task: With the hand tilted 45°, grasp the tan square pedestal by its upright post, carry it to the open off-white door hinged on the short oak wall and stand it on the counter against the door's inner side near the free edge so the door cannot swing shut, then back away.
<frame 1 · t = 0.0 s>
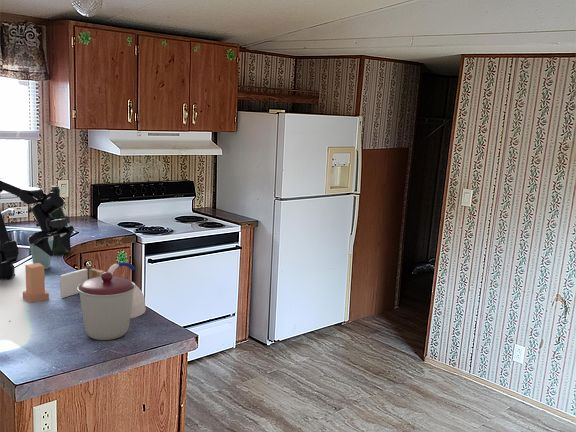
hand: (61, 253, 227), 15 cm above the countertop, fingers open, 9 cm apart
tan square pedestal: (35, 298, 218), on the countertop
canister: (107, 334, 189), on the countertop
beer bottle: (56, 253, 283), on the countertop
door frame: (88, 289, 231), on the countertop
door: (73, 282, 224), point 5 cm above the countertop, hinge at 90.0°
kettle: (117, 311, 210), on the countertop
disposable coffee cup: (41, 268, 257), on the countertop
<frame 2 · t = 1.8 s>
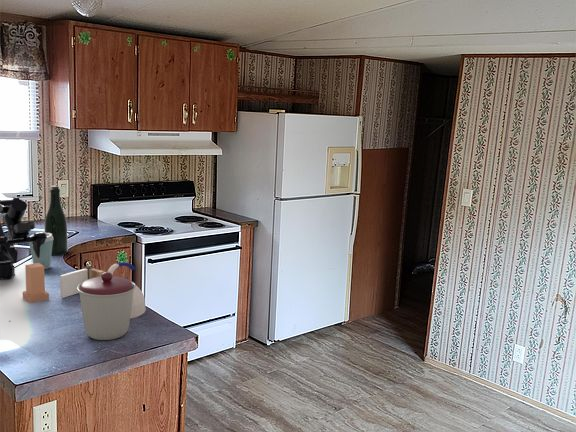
hand: (26, 259, 221), 13 cm above the countertop, fingers open, 9 cm apart
nothing on the countertop moved.
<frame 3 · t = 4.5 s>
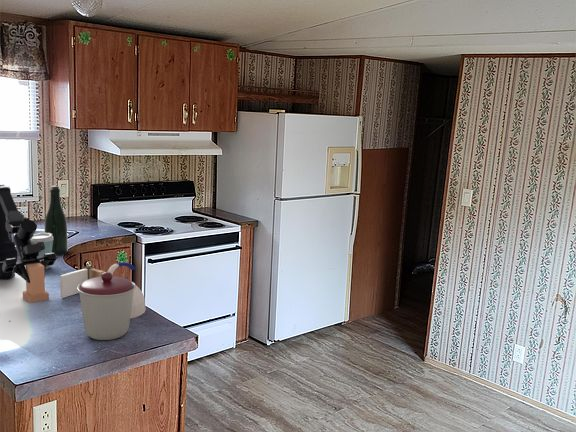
hand: (36, 281, 216), 7 cm above the countertop, fingers closed on tan square pedestal, 5 cm apart
tan square pedestal: (35, 298, 218), on the countertop, touching gripper
everything else where it was.
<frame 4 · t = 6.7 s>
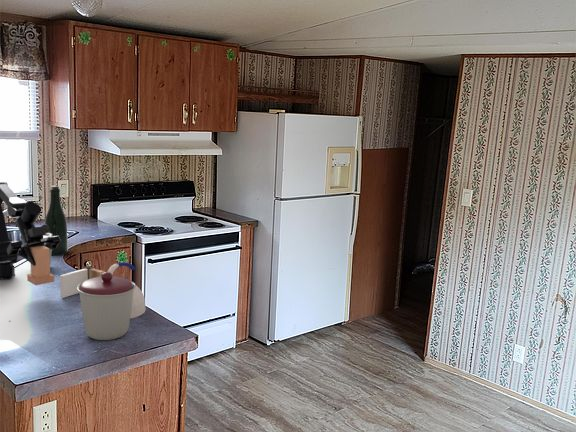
hand: (42, 264, 217), 13 cm above the countertop, fingers closed on tan square pedestal, 5 cm apart
tan square pedestal: (40, 281, 219), point 6 cm above the countertop, touching gripper
everything else where it was.
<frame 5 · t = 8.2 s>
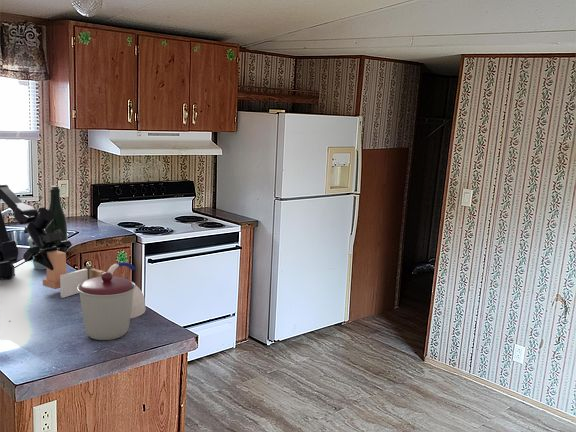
hand: (58, 268, 223), 10 cm above the countertop, fingers closed on tan square pedestal, 5 cm apart
tan square pedestal: (56, 285, 225), point 3 cm above the countertop, touching gripper
everything else where it was.
when the fingers open (8 cm above the countertop, at t = 9.1 s): tan square pedestal stays where it is, on the countertop.
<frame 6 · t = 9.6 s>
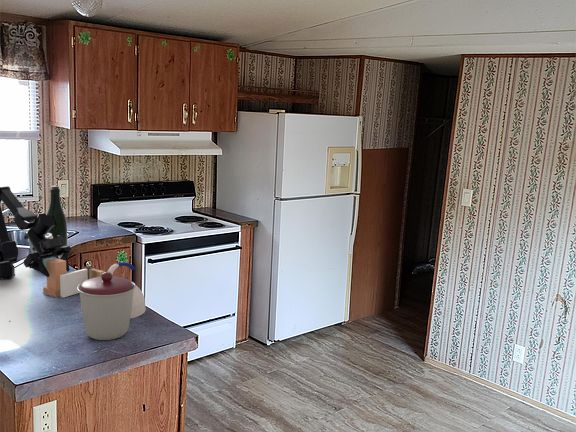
hand: (59, 273, 223), 8 cm above the countertop, fingers open, 9 cm apart
tan square pedestal: (57, 293, 226), on the countertop
everything else where it was.
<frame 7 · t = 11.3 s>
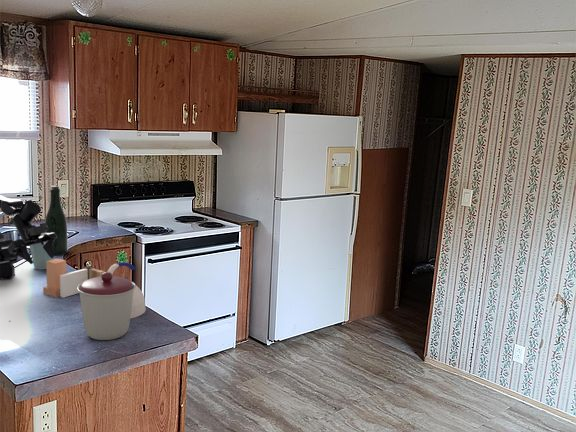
hand: (42, 260, 228), 11 cm above the countertop, fingers open, 9 cm apart
nothing on the countertop moved.
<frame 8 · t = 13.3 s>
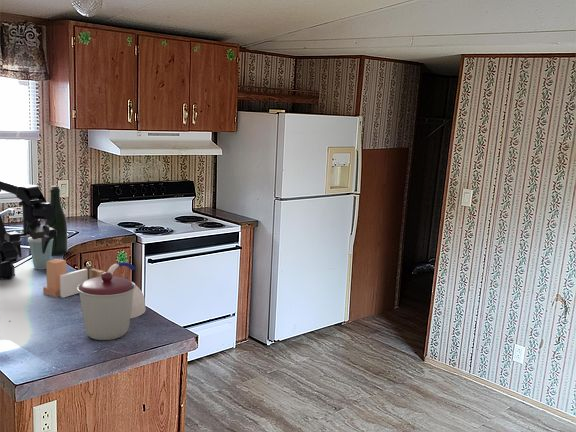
hand: (32, 255, 233), 12 cm above the countertop, fingers open, 9 cm apart
nothing on the countertop moved.
at the end: tan square pedestal inside the target area (0.1 cm from its centre), on the countertop; tan square pedestal tilted 0°; door at +90° (first picture: +90°) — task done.
